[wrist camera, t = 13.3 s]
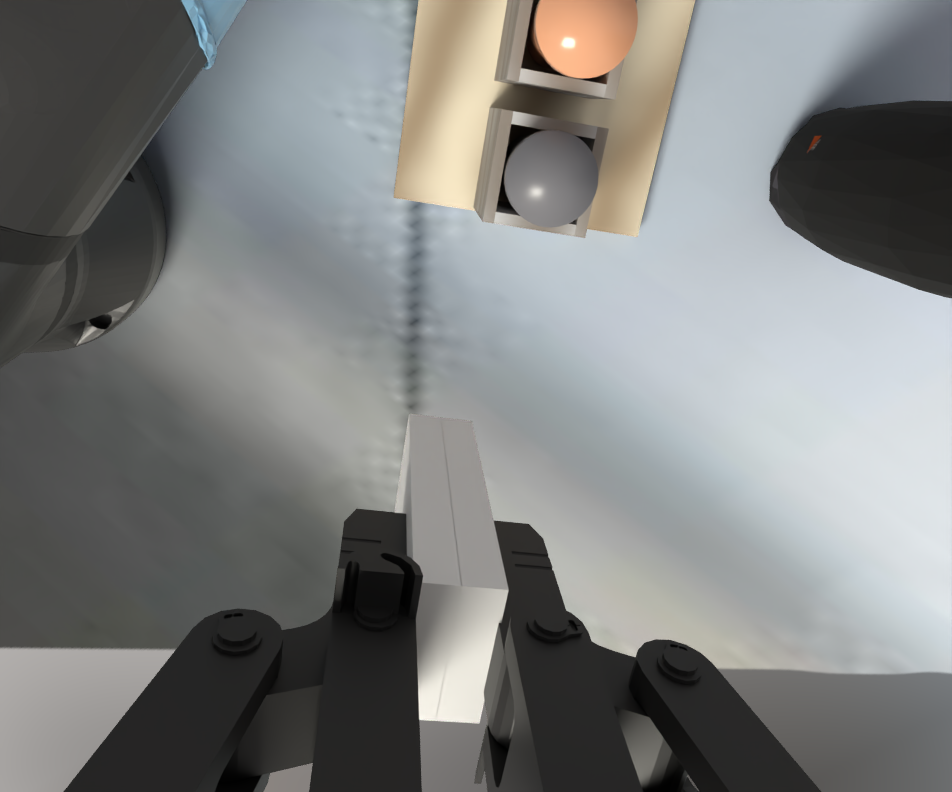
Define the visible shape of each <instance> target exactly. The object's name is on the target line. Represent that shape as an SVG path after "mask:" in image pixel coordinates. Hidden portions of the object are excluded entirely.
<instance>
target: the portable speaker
mask: <svg viewBox="0 0 952 792" xmlns="http://www.w3.org/2000/svg"><path fill="white" fill-rule="evenodd" d="M769 201H770V202H771V204H772V205H773V207H774V208H775V210H776V211H777V213H778V214H779V216H780V218H781V219H782V221H783V222H784V224H785V225H786V226H788V227H789V228H791V229H792V230H794V231H795V232H797V233H798V234H800V235H801V236H802V237H804V238H805V239H807V240H808V241H810V242H811V243H813V244H814V245H816V246H817V247H819V248H820V249H822V250H824V251H825V252H827V253H829V254H831V255H833V256H834V257H836V258H838V259H840V260H842V261H844V262H846V263H849V264H852V265H854V266H857V267H860V268H863V269H865V270H868V271H871V272H873V273H876V274H879V275H881V276H884V277H887V278H889V279H892V280H895V281H897V282H900V283H903V284H905V285H908V286H911V287H913V288H916V289H919V290H922V291H926V292H929V293H933V294H936V295H940V296H943V297H948V298H952V101H906V102H897V103H887V104H878V105H868V106H859V107H853V108H847V109H846V108H838V109H834V110H831V111H828V112H824V113H821V114H817V115H814V116H813V117H812V118H811V120H810V121H809V122H808V123H807V124H806V125H805V126H804V127H803V128H802V129H801V130H800V131H799V132H798V133H797V134H795V135H794V136H793V137H792V139H791V140H790V142H789V144H788V146H787V147H786V149H785V151H784V153H783V154H782V156H781V158H780V160H779V162H778V164H777V165H776V166H775V168H774V169H773V170H772V171H771V176H770V200H769Z"/></svg>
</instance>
